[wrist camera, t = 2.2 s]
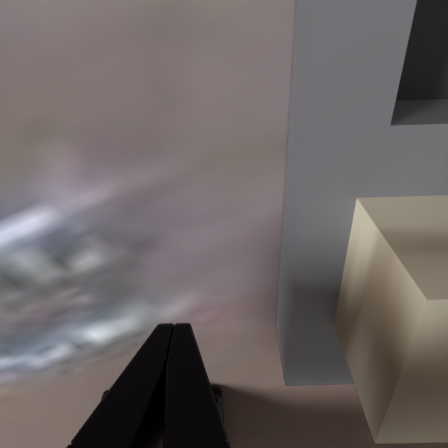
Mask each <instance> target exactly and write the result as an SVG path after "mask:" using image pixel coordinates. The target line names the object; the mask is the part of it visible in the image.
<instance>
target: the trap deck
mask: <svg viewBox="0 0 448 448" xmlns="http://www.w3.org/2000/svg"><path fill="white" fill-rule="evenodd" d="M436 195H448V0H296V12H295V29H294V45H293V61H292V77H291V93H290V110H289V126H288V142H287V158H286V174H285V190H284V207H283V223H282V239H281V255H280V271H279V288H278V304H277V320H276V331H277V337H278V344H279V350H280V356H281V362H282V368H283V374H284V381H285V386H294V385H340V384H354V382H353V379H352V376H351V373H350V370H349V367H348V364H347V361H346V358H345V355H344V353H343V350H342V347H341V344H340V341H339V338H338V335H337V332H336V329H335V326H334V320H335V314H336V309H337V303H338V298H339V292H340V287H341V282H342V276H343V271H344V265H345V260H346V254H347V249H348V243H349V238H350V232H351V227H352V222H353V216H354V211H355V205H356V200H357V198H372V197H404V196H436Z"/></svg>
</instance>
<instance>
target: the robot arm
mask: <svg viewBox="0 0 448 448" xmlns="http://www.w3.org/2000/svg"><path fill="white" fill-rule="evenodd" d="M66 448H231V447H230V443H229V442H228V438H227V435H226V432H225V429H224V417H223V401H222V392H221V390H219V389H217V388H211V385H210V382H209V379H208V376H207V373H206V370H205V367H204V364H203V361H202V358H201V354H200V351H199V348H198V345H197V342H196V339H195V336H194V333H193V330H192V327H191V324H190V323H176V324H175V325H174V324H172V323H164V324H159V325H157V326H156V328H155V329H154V330H153V332H152V333H151V334H150V336H149V337H148V339H147V340H146V341H145V343H144V344H143V345H142V347H141V348H140V349H139V351H138V352H137V353H136V355H135V356H134V357H133V359H132V360H131V361H130V363H129V364H128V365H127V367H126V368H125V370H124V371H123V372H122V374H121V375H120V376H119V378H118V379H117V380H116V382H115V383H114V384H113V386H112V387H111V388H110V390H107V391H105V392H104V393H103V395H102V399H101V402H100V403H99V405H98V406H97V407H96V409H95V410H94V411H93V413H92V414H91V415H90V417H89V418H88V419H87V421H86V422H85V423H84V425H83V426H82V427H81V429H80V430H79V431H78V433H77V434H76V436H75V437H74V438H73V440H72V441H71V444H69V445H68V446H67V447H66Z"/></svg>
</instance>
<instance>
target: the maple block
mask: <svg viewBox="0 0 448 448" xmlns="http://www.w3.org/2000/svg"><path fill="white" fill-rule="evenodd" d="M334 326H335V329H336V332H337V335H338V338H339V341H340V344H341V347H342V350H343V353H344V355H345V358H346V361H347V364H348V367H349V370H350V373H351V376H352V379H353V382H354V384H355V387H356V390H357V393H358V396H359V399H360V402H361V405H362V408H363V411H364V413H365V416H366V419H367V422H368V425H369V428H370V431H371V434H372V437H373V440H374V443H375V444H391V443H443V442H448V195H436V196H404V197H372V198H357V200H356V205H355V211H354V216H353V222H352V227H351V232H350V238H349V243H348V249H347V254H346V260H345V265H344V271H343V276H342V282H341V287H340V292H339V298H338V303H337V309H336V314H335V320H334Z"/></svg>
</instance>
